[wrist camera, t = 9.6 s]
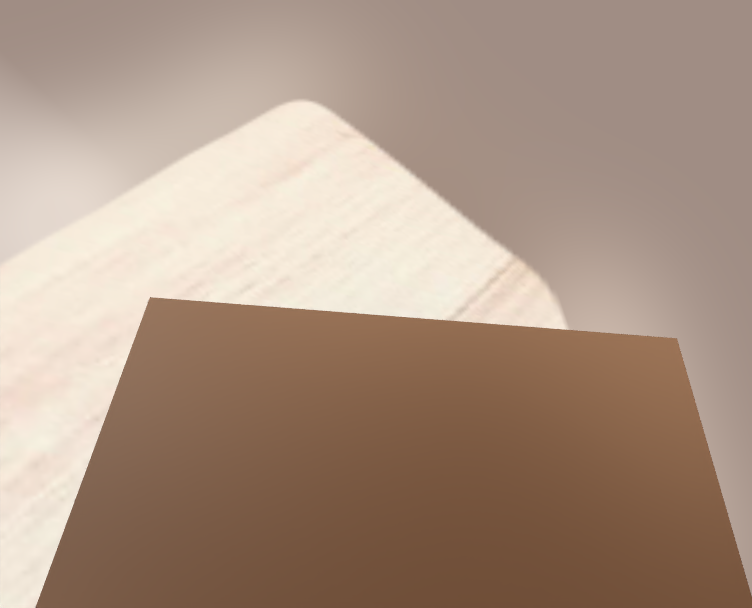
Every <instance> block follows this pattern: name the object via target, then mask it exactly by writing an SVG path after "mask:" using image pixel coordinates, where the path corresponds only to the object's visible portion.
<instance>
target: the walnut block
mask: <svg viewBox="0 0 752 608" xmlns="http://www.w3.org/2000/svg"><path fill="white" fill-rule="evenodd" d="M36 608H752V596H751V593H750V589H749V586H748V582H747V579H746V575H745V572H744V568H743V565H742V562H741V558H740V555H739V551H738V548H737V544H736V541H735V537H734V534H733V530H732V527H731V524H730V520H729V517H728V513H727V510H726V506H725V503H724V499H723V496H722V493H721V489H720V486H719V482H718V479H717V475H716V472H715V468H714V465H713V462H712V458H711V455H710V451H709V448H708V444H707V441H706V438H705V434H704V431H703V427H702V423H701V420H700V417H699V413H698V410H697V406H696V403H695V399H694V396H693V392H692V389H691V386H690V382H689V379H688V375H687V372H686V368H685V365H684V361H683V358H682V354H681V351H680V348H679V344H678V341H677V339H676V338H663V337H651V336H639V335H626V334H612V333H600V332H587V331H575V330H562V329H549V328H536V327H523V326H510V325H498V324H485V323H472V322H459V321H446V320H433V319H421V318H408V317H395V316H382V315H369V314H357V313H344V312H331V311H318V310H305V309H292V308H280V307H267V306H254V305H241V304H228V303H215V302H203V301H190V300H177V299H164V298H151V297H150V299H149V302H148V304H147V307H146V310H145V312H144V315H143V318H142V321H141V323H140V326H139V329H138V331H137V334H136V337H135V340H134V342H133V345H132V348H131V350H130V353H129V356H128V359H127V361H126V364H125V367H124V369H123V372H122V375H121V378H120V380H119V383H118V386H117V388H116V391H115V394H114V396H113V399H112V402H111V405H110V407H109V410H108V413H107V415H106V418H105V421H104V424H103V426H102V429H101V432H100V434H99V437H98V440H97V443H96V445H95V448H94V451H93V453H92V456H91V459H90V462H89V464H88V467H87V470H86V472H85V475H84V478H83V480H82V483H81V486H80V489H79V491H78V494H77V497H76V499H75V502H74V505H73V508H72V510H71V513H70V516H69V518H68V521H67V524H66V527H65V529H64V532H63V535H62V537H61V540H60V543H59V545H58V548H57V551H56V554H55V556H54V559H53V562H52V564H51V567H50V570H49V573H48V575H47V578H46V581H45V583H44V586H43V589H42V592H41V594H40V597H39V600H38V602H37V605H36Z"/></svg>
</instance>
